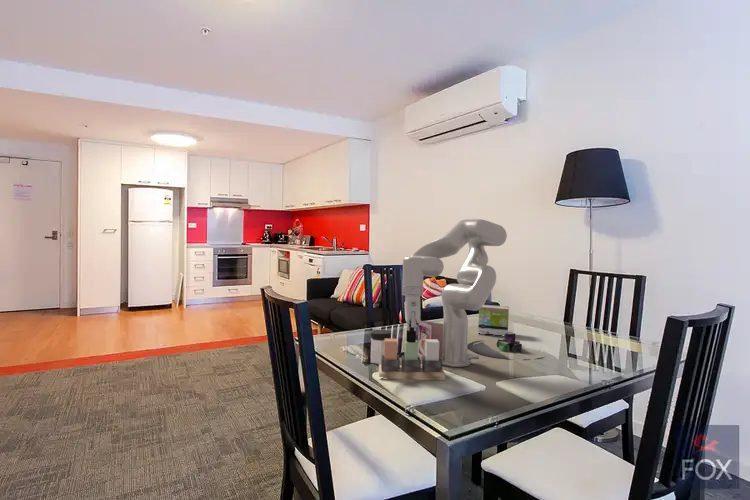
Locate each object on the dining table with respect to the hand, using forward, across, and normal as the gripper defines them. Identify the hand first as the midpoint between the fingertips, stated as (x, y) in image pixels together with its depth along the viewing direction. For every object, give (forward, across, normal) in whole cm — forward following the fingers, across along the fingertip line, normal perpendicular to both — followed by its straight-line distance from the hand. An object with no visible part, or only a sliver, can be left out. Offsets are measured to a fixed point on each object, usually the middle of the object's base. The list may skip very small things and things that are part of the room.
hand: (410, 341), depth 154 cm
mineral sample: (+12, +39, -47) cm, 63 cm away
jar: (+12, +16, +10) cm, 23 cm away
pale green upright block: (+7, 0, 0) cm, 7 cm away
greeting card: (+12, +22, -10) cm, 27 cm away
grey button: (+7, 0, -8) cm, 10 cm away
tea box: (+11, +71, -50) cm, 88 cm away
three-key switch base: (+12, 0, 0) cm, 12 cm away
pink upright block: (+7, 0, +7) cm, 10 cm away
